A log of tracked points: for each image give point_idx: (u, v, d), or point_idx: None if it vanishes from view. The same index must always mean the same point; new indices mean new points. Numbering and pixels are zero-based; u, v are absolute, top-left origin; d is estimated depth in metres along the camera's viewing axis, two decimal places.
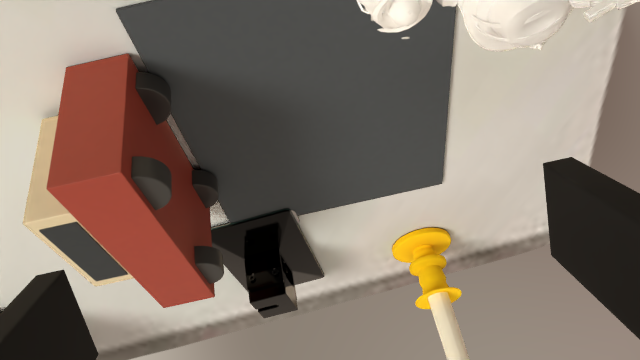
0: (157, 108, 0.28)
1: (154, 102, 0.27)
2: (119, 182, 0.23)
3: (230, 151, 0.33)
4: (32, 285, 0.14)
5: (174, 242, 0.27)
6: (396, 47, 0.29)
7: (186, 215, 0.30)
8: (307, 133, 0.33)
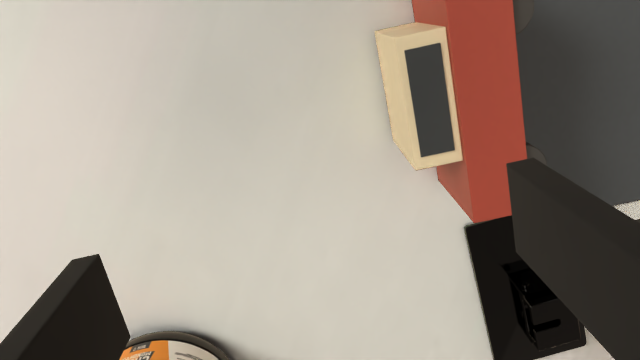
0: None
1: None
2: None
3: None
4: (70, 268, 0.14)
5: None
6: None
7: None
8: (595, 81, 0.35)
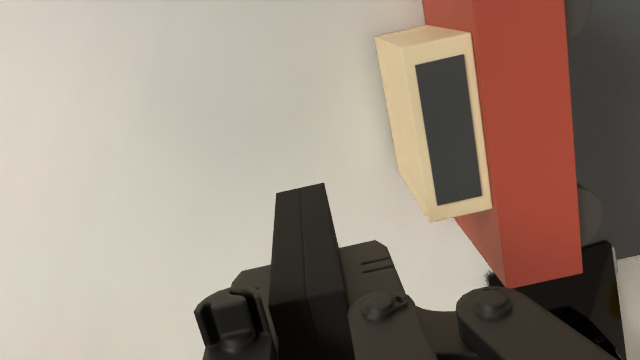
0: None
1: None
2: None
3: None
4: (281, 198, 0.16)
5: (571, 112, 0.20)
6: None
7: None
8: None
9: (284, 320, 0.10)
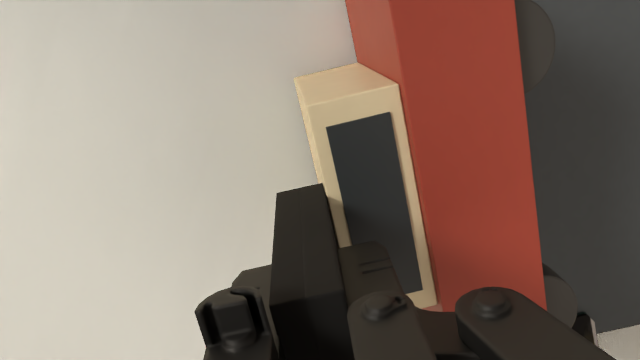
0: None
1: None
2: None
3: None
4: (282, 198, 0.16)
5: (533, 184, 0.15)
6: None
7: None
8: (635, 145, 0.23)
9: (285, 320, 0.10)
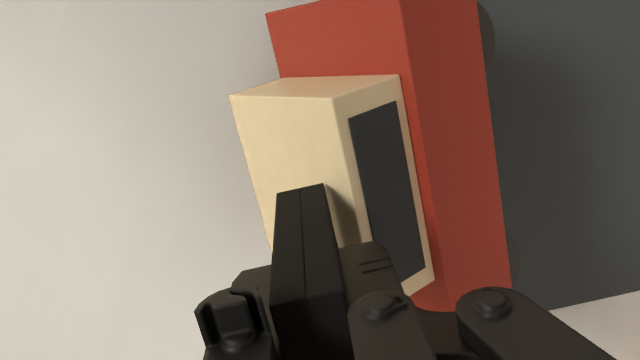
0: None
1: None
2: None
3: None
4: (282, 198, 0.16)
5: (495, 155, 0.18)
6: None
7: None
8: (525, 149, 0.25)
9: (285, 320, 0.10)
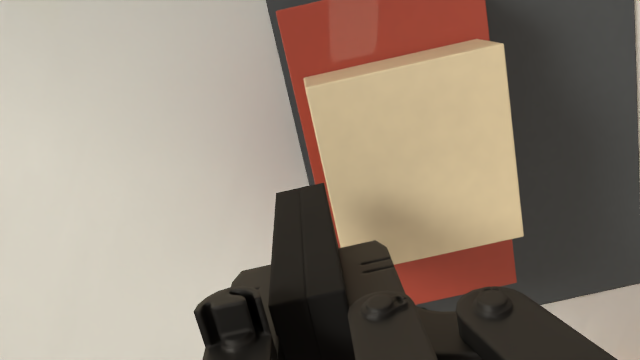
0: None
1: None
2: None
3: None
4: (281, 198, 0.16)
5: None
6: (565, 23, 0.24)
7: None
8: None
9: (284, 320, 0.10)
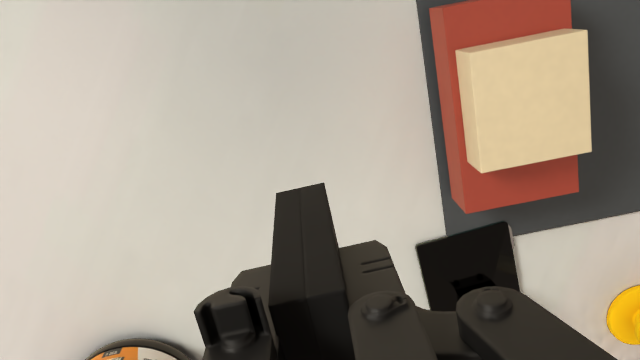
0: None
1: None
2: None
3: None
4: (281, 198, 0.16)
5: None
6: (612, 22, 0.36)
7: None
8: None
9: (284, 320, 0.10)
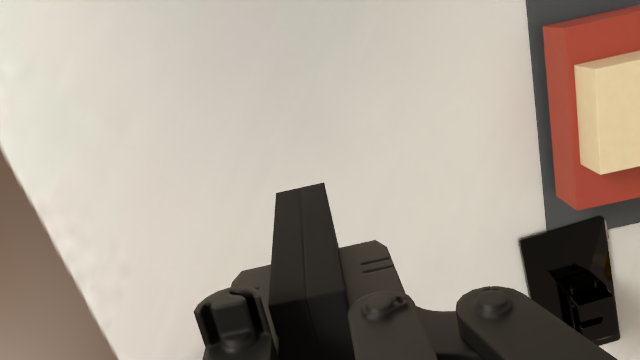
0: None
1: None
2: None
3: None
4: (281, 198, 0.16)
5: None
6: None
7: None
8: None
9: (284, 320, 0.10)
